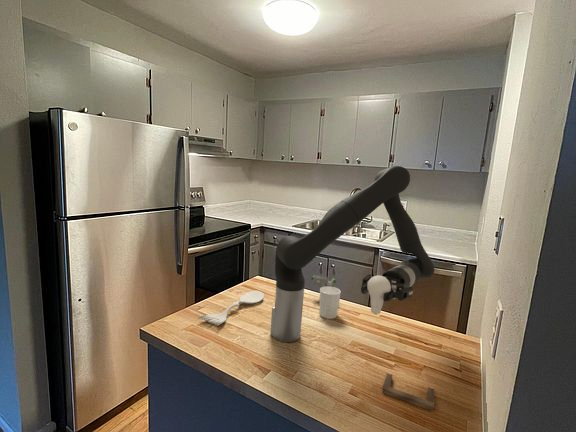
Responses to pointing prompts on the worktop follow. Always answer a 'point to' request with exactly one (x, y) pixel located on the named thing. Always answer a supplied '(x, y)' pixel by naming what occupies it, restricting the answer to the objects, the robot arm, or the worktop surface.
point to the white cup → (329, 302)
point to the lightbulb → (377, 292)
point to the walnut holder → (409, 395)
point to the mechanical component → (322, 281)
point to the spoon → (245, 298)
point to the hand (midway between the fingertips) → (373, 294)
